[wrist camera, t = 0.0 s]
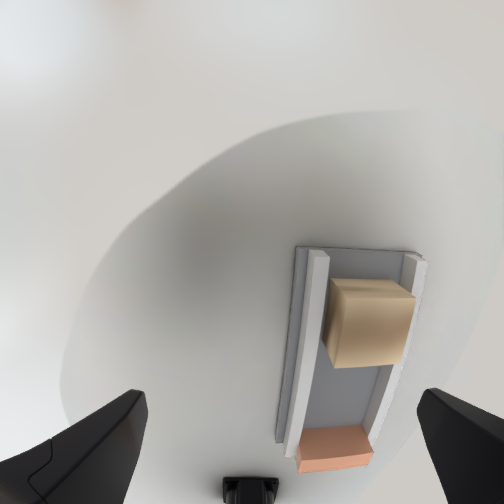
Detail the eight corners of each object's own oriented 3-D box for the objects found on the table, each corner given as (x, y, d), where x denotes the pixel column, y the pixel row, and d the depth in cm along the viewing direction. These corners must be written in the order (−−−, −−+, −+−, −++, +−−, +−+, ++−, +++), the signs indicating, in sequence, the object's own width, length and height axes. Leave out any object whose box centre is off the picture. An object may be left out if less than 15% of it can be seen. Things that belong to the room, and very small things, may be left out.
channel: (369, 429, 26) (383, 461, 21) (275, 436, 26) (278, 473, 21) (416, 252, 22) (450, 268, 17) (296, 246, 22) (309, 264, 17)
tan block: (380, 338, 22) (399, 363, 18) (321, 339, 22) (334, 368, 18) (391, 279, 21) (416, 297, 17) (330, 278, 21) (347, 298, 17)
